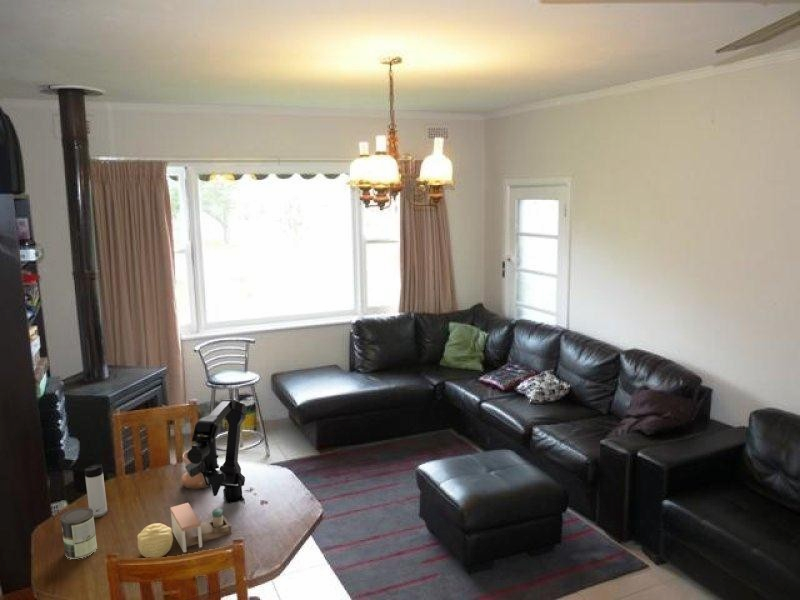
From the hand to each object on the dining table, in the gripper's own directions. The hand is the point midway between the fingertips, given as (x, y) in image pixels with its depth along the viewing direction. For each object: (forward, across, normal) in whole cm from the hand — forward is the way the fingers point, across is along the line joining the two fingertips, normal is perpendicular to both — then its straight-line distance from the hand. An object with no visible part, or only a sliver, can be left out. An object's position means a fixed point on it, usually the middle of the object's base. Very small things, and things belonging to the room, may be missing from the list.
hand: (211, 490), depth 241 cm
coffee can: (+13, -6, -45) cm, 47 cm away
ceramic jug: (+13, -34, +4) cm, 37 cm away
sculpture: (+13, +10, -23) cm, 28 cm away
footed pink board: (+12, +7, -12) cm, 18 cm away
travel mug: (+13, -31, -36) cm, 49 cm away
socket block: (+12, +8, -5) cm, 16 cm away
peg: (+12, +8, 0) cm, 15 cm away
